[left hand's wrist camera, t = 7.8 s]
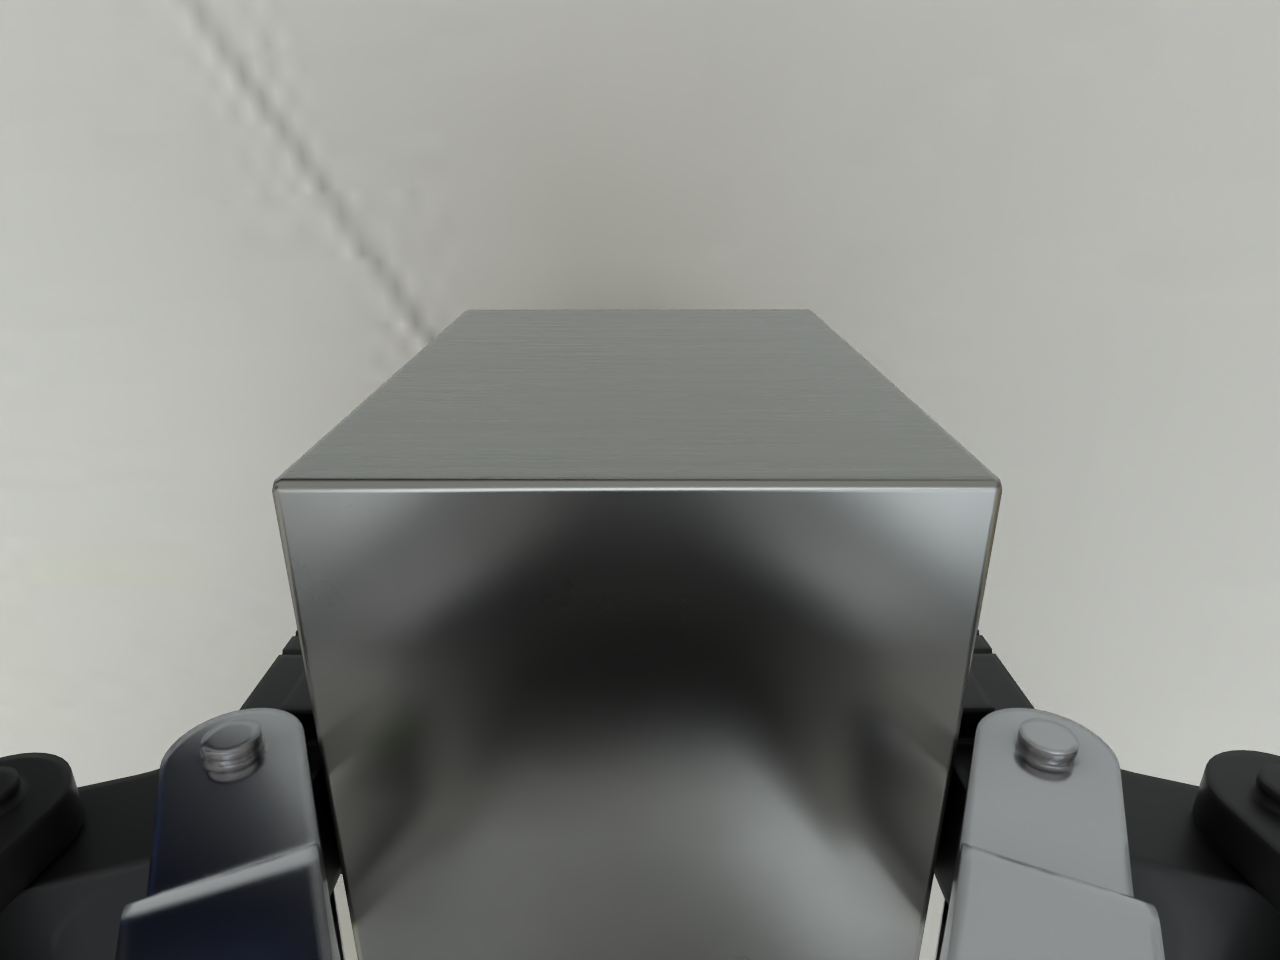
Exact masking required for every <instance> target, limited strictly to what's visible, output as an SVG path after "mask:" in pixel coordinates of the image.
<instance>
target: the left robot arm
mask: <svg viewBox="0 0 1280 960" xmlns="http://www.w3.org/2000/svg"><path fill="white" fill-rule="evenodd" d="M340 874H342V869H341V863H340V858H339V852H338V847H337V841H336V836H335V831H334V825H333V820H332V814H331V809H330V803H329V798H328V792H327V787H326V781H325V776H324V771H323V765H322V760H321V754H320V749H319V743H318V738H317V732H316V727H315V721H314V716H313V711H312V705H311V700H310V694H309V689H308V683H307V678H306V672H305V667H304V661H303V656H302V650H301V645H300V640H299V634H298V630H297V631H296V636H293V637H292V638H291V639H290V641H289V642H288V644H287V645H286V646H285V648H284V649H283V654H282V655H279V656H278V657H277V659H276V660H275V661H274V663H273V664H272V666H271V667H270V668H269V670H268V671H267V673H266V674H265V675H264V677H263V678H262V679H261V681H260V682H259V684H258V685H257V686H256V688H255V689H254V691H253V692H252V693H251V695H250V696H249V697H248V699H247V700H246V702H245V703H244V704H243V706H242V707H241V708H240V710H239V711H234V712H230V713H227V714H223V715H220V716H218V717H215V718H213V719H210V720H208V721H206V722H204V723H202V724H200V725H198V726H196V727H195V728H193V729H191V730H190V731H188V732H187V733H186V734H184V735H183V736H182V737H180V738H179V739H178V740H177V741H176V742H175V743H174V744H173V745H172V746H171V747H170V748H169V750H168V751H167V752H166V754H165V756H164V757H163V759H162V762H161V765H160V769H157V770H154V771H151V772H147V773H143V774H139V775H134V776H130V777H125V778H120V779H116V780H111V781H106V782H102V783H97V784H92V785H88V786H83V787H78V788H77V786H76V782H75V779H74V776H73V773H72V770H71V768H70V766H69V764H68V762H66V761H65V760H64V759H63V758H61V757H58V756H56V755H52V754H47V753H23V754H16V755H10V756H6V757H2V758H0V960H345V954H344V948H343V941H342V935H341V928H340V921H339V915H338V910H337V904H336V899H335V894H334V887H335V885H336V883H337V880H338V878H339V875H340ZM934 874H935V876H936V878H937V881H938V883H939V886H940V888H941V891H942V893H943V895H944V898H945V899H944V904H943V909H942V915H941V921H940V928H939V934H938V941H937V948H936V954H935V960H1280V756H1277V755H1273V754H1269V753H1263V752H1257V751H1247V750H1235V751H1227V752H1222V753H1220V754H1218V755H1215V756H1214V757H1213V758H1211V759H1210V760H1209V762H1208V763H1207V765H1206V768H1205V771H1204V774H1203V777H1202V780H1201V783H1200V786H1194V785H1190V784H1185V783H1180V782H1175V781H1171V780H1166V779H1161V778H1157V777H1152V776H1147V775H1143V774H1138V773H1133V772H1130V771H1126V770H1122V769H1120V766H1119V762H1118V759H1117V758H1116V756H1115V754H1114V752H1113V751H1112V750H1111V748H1110V747H1109V746H1108V745H1107V744H1106V743H1105V742H1104V741H1103V740H1102V739H1101V738H1100V737H1098V736H1097V735H1096V734H1094V733H1093V732H1092V731H1090V730H1089V729H1087V728H1085V727H1084V726H1082V725H1080V724H1078V723H1076V722H1074V721H1072V720H1070V719H1067V718H1065V717H1062V716H1060V715H1057V714H1053V713H1050V712H1046V711H1041V710H1036V709H1034V707H1033V706H1032V704H1031V703H1030V702H1029V700H1028V699H1027V697H1026V696H1025V695H1024V693H1023V692H1022V690H1021V689H1020V688H1019V686H1018V685H1017V683H1016V682H1015V681H1014V679H1013V678H1012V676H1011V675H1010V674H1009V672H1008V671H1007V669H1006V668H1005V667H1004V665H1003V664H1002V662H1001V661H1000V660H999V658H998V657H997V655H996V654H992V648H991V647H990V646H989V644H988V643H987V641H986V640H985V639H984V637H983V636H982V635H979V630H978V629H977V635H976V640H975V646H974V651H973V657H972V663H971V668H970V674H969V680H968V685H967V691H966V696H965V702H964V708H963V713H962V719H961V724H960V730H959V736H958V741H957V747H956V753H955V758H954V764H953V769H952V775H951V781H950V786H949V792H948V798H947V803H946V809H945V814H944V820H943V826H942V831H941V837H940V842H939V848H938V854H937V859H936V865H935V871H934Z"/></svg>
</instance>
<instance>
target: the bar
mask: <svg viewBox="0 0 1280 960" xmlns="http://www.w3.org/2000/svg"><path fill="white" fill-rule="evenodd" d="M272 492H273V498H274V503H275V509H276V514H277V520H278V525H279V530H280V536H281V541H282V547H283V552H284V558H285V563H286V569H287V574H288V580H289V585H290V590H291V596H292V601H293V607H294V612H295V618H296V623H297V629H298V634H299V640H300V645H301V650H302V656H303V661H304V667H305V672H306V678H307V683H308V689H309V694H310V700H311V705H312V711H313V716H314V721H315V727H316V732H317V738H318V743H319V749H320V754H321V760H322V765H323V771H324V776H325V781H326V787H327V792H328V798H329V803H330V809H331V814H332V820H333V825H334V831H335V836H336V841H337V847H338V852H339V858H340V863H341V869H342V874H343V880H344V885H345V891H346V896H347V902H348V907H349V912H350V918H351V923H352V929H353V934H354V940H355V945H356V951H357V956H358V960H919V955H920V949H921V944H922V938H923V932H924V927H925V921H926V916H927V910H928V904H929V899H930V893H931V887H932V882H933V876H934V871H935V865H936V859H937V854H938V848H939V842H940V837H941V831H942V826H943V820H944V814H945V809H946V803H947V798H948V792H949V786H950V781H951V775H952V769H953V764H954V758H955V753H956V747H957V741H958V736H959V730H960V724H961V719H962V713H963V708H964V702H965V696H966V691H967V685H968V680H969V674H970V668H971V663H972V657H973V651H974V646H975V640H976V635H977V629H978V623H979V618H980V612H981V606H982V601H983V595H984V590H985V584H986V578H987V573H988V567H989V562H990V556H991V550H992V545H993V539H994V533H995V528H996V522H997V517H998V511H999V505H1000V500H1001V494H1002V486H1001V482H1000V479H999V478H997V477H996V476H995V475H994V474H993V473H992V472H991V471H990V470H988V469H987V468H986V467H985V466H984V465H983V464H982V463H981V462H980V461H978V460H977V459H976V458H975V457H974V456H973V455H972V454H971V453H969V452H968V451H967V450H966V449H965V448H964V447H963V446H962V445H961V444H959V443H958V442H957V441H956V440H955V439H954V438H953V437H952V436H951V435H949V434H948V433H947V432H946V431H945V430H944V429H943V428H942V427H940V426H939V425H938V424H937V423H936V422H935V421H934V420H933V419H932V418H930V417H929V416H928V415H927V414H926V413H925V412H924V411H923V410H922V409H920V408H919V407H918V406H917V405H916V404H915V403H914V402H913V401H911V400H910V399H909V398H908V397H907V396H906V395H905V394H904V393H903V392H901V391H900V390H899V389H898V388H897V387H896V386H895V385H894V384H893V383H891V382H890V381H889V380H888V379H887V378H886V377H885V376H884V375H882V374H881V373H880V372H879V371H878V370H877V369H876V368H875V367H874V366H872V365H871V364H870V363H869V362H868V361H867V360H866V359H865V358H864V357H862V356H861V355H860V354H859V353H858V352H857V351H856V350H855V349H853V348H852V347H851V346H850V345H849V344H848V343H847V342H846V341H845V340H843V339H842V338H841V337H840V336H839V335H838V334H837V333H836V332H834V331H833V330H832V329H831V328H830V327H829V326H828V325H827V324H826V323H824V322H823V321H822V320H821V319H820V318H819V317H818V316H817V315H816V314H814V313H813V312H812V311H810V310H468V311H466V312H464V313H463V314H462V315H461V316H460V317H459V318H457V319H456V320H455V321H454V322H453V323H452V324H451V325H450V326H448V327H447V328H446V329H445V330H444V331H443V332H442V333H441V334H439V335H438V336H437V337H436V338H435V339H434V340H433V341H432V342H430V343H429V344H428V345H427V346H426V347H425V348H424V349H422V350H421V351H420V352H419V353H418V354H417V355H416V356H415V357H413V358H412V359H411V360H410V361H409V362H408V363H407V364H406V365H404V366H403V367H402V368H401V369H400V370H399V371H398V372H397V373H395V374H394V375H393V376H392V377H391V378H390V379H389V380H388V381H386V382H385V383H384V384H383V385H382V386H381V387H380V388H378V389H377V390H376V391H375V392H374V393H373V394H372V395H371V396H369V397H368V398H367V399H366V400H365V401H364V402H363V403H362V404H360V405H359V406H358V407H357V408H356V409H355V410H354V411H353V412H351V413H350V414H349V415H348V416H347V417H346V418H345V419H344V420H342V421H341V422H340V423H339V424H338V425H337V426H336V427H334V428H333V429H332V430H331V431H330V432H329V433H328V434H327V435H325V436H324V437H323V438H322V439H321V440H320V441H319V442H318V443H316V444H315V445H314V446H313V447H312V448H311V449H310V450H309V451H307V452H306V453H305V454H304V455H303V456H302V457H301V458H300V459H298V460H297V461H296V462H295V463H294V464H293V465H292V466H291V467H289V468H288V469H287V470H286V471H285V472H284V473H283V474H281V475H280V476H279V477H278V478H277V479H276V480H275V481H274V485H273V488H272Z"/></svg>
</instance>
